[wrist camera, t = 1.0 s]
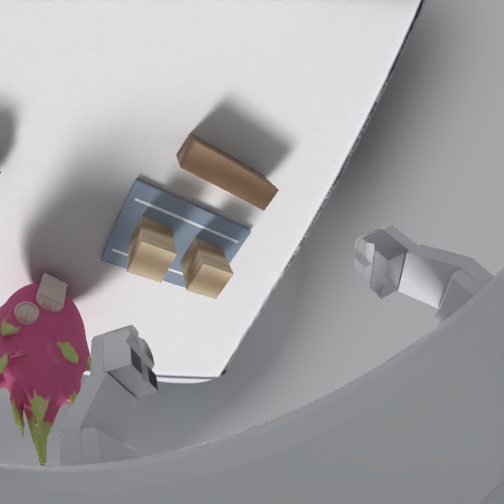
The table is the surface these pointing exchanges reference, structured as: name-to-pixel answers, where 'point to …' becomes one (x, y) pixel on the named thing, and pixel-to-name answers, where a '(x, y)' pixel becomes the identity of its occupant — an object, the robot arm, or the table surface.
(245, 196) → the walnut lintel
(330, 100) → the table surface
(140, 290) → the table surface
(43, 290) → the pink dragon fruit
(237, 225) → the blueprint board
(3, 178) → the table surface
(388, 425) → the robot arm
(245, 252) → the table surface
